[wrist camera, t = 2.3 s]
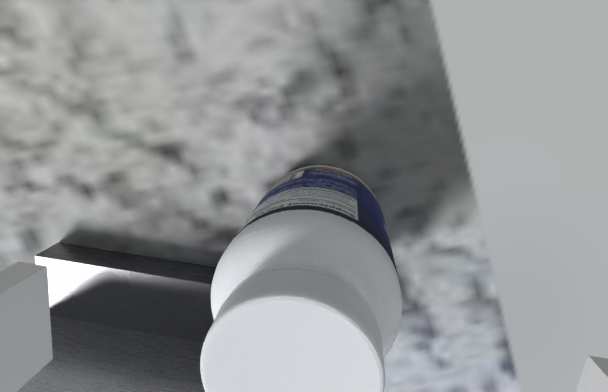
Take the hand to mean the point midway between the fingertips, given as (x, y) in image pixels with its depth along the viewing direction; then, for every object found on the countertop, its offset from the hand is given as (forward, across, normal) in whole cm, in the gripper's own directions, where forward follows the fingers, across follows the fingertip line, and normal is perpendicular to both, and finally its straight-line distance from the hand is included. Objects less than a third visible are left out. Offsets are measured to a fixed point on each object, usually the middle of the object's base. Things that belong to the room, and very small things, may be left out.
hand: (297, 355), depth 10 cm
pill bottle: (+9, 0, +1) cm, 9 cm away
